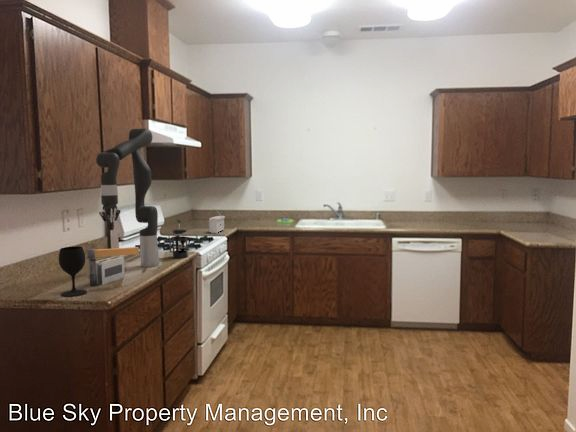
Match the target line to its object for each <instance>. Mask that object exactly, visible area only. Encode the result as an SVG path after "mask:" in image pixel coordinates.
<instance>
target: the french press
mask: <svg viewBox="0 0 576 432" xmlns="http://www.w3.org/2000/svg"><path fill="white" fill-rule="evenodd" d="M175 221H176V222H178V228H174V229H172V230H171V231H172V235H179V236H173V237H169V239H168V241H169V245H168V246H169V253H172V259H186V258H188V257H189V255H188V252H189V250H188V237H187V236H181V235H183V233H187V231H188V229H187V228H180V225H181V224H180V223H181V221H183V219H175Z"/></svg>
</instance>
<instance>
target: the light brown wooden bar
mask: <svg viewBox="0 0 576 432" xmlns="http://www.w3.org/2000/svg"><path fill="white" fill-rule="evenodd" d="M139 249H140V247H139V246H132V247H129V246H128V247H118V248H117V247H115V248H100V249H99V248H98V249H97V248H88V249H86V256H87V258H86V259H88V260H89V259H94V258H95V259H97V258H102V257H103V258H104V257H120V256H129V255H130V256H131V255H133V256H134V255H139V254H140V250H139Z"/></svg>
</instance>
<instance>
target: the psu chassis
mask: <svg viewBox="0 0 576 432" xmlns="http://www.w3.org/2000/svg"><path fill="white" fill-rule="evenodd" d="M125 269H126V268H125V257H122V256H110V257H108V258H104V259H100V260H97V258H94V259H88V274H89V286H90V287H96V286H98V285H101V286H103V285H106V284H108V283H112V282H115V281H118V280H121V279H124V278H126V271H125Z"/></svg>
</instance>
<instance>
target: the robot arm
mask: <svg viewBox="0 0 576 432" xmlns="http://www.w3.org/2000/svg"><path fill="white" fill-rule="evenodd" d="M152 142H153V134H152V131H151V130H150V129H148V128H132V129H130V131H129V132H128V139H127V140H125V141H122V142H119V143H118V144H116V145H115V146H114V147H112V148H109V149H107V150H104V151H103V150H102V151H101V152H100V153H98V154H97V156H96V158H95V163H96V165H97V166H98V167H100V168H107V171H106V172H103V173H101V174H100V186H101V187H100V201H101V202H100V204H101V205H102V210H101V211H99V216H100V217H101V219H102V220H103V221H104V222H105V223H106V224H107V231H114V228H115V224H114V223H115V221H118V218H119V216H120V214H121V211H122V210H121V209H119V208H118V206H117V205H118V204H119V195H118V193H119V191H118V185H117V184H118V183H117V176H118V170H119V167H120V162H121V161H122V160H124V158H126V157H127V156H129V155H131V160H132V161H131V162H132V171H133V172H132V173H133V183H134V196H135V204H134V205H135V206H134V207H135V211H134V212H135V213H134V214H135V218H136V221H137V223H142V224H144V223H146V224H147V226H146V227H145V228H142V229H140V230H139V249H140V250H139V254H140V257H139V258H140V266H141V267H143V268H152V267H156V266H159V264H160V262H159V261H160V259H159V257H160V256H159V248H158V226H159V225H158V219H159V216H158V209H157V208H156V206H153V205H152V206H151V205H149V206H148V205H145V200H146V199H145V198H146V195H147V194H148V191H149V189H150V188H151V184H152V170H151V168H150V166H149V164H148V163H147V161H146V160H145V158H144V156H143V154H142V150H141V148H144V147H146V146H147V147H148V146H149V145H150V144H151V143H152Z"/></svg>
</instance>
